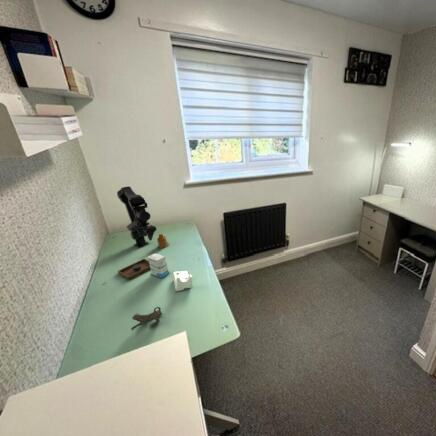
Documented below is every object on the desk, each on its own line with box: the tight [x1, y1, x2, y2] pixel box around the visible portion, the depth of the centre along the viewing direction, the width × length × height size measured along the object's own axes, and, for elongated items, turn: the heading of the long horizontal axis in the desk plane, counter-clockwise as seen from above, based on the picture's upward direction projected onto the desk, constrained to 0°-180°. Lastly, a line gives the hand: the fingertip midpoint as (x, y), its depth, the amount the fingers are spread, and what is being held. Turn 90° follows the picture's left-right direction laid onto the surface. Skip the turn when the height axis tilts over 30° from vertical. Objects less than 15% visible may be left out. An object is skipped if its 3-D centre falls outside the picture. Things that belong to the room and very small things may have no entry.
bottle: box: [156, 233, 169, 249], centre depth 164 cm, size 6×6×9 cm
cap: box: [133, 264, 141, 271], centre depth 139 cm, size 4×4×2 cm
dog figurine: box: [130, 306, 163, 331], centre depth 103 cm, size 12×6×7 cm, turn 114°
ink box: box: [147, 253, 169, 279], centre depth 135 cm, size 8×5×12 cm, turn 65°
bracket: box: [172, 270, 193, 292], centre depth 129 cm, size 13×7×8 cm, turn 31°
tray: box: [117, 258, 151, 281], centre depth 140 cm, size 11×15×2 cm
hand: (146, 238), depth 151 cm, fingers open, 9 cm apart
